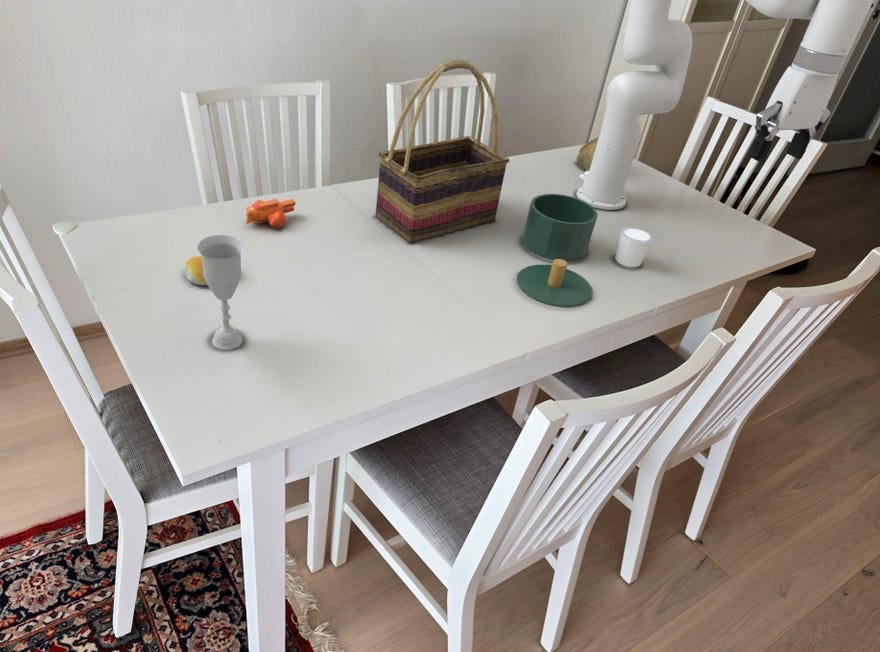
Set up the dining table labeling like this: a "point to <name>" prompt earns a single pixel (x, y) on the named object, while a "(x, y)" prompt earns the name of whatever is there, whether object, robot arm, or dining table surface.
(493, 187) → the basket
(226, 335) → the chalice
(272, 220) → the orange plastic lumpy piece
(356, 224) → the dining table surface
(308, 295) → the dining table surface
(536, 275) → the lid
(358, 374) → the dining table surface
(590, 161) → the pastry
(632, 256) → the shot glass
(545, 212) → the tin
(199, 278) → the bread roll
